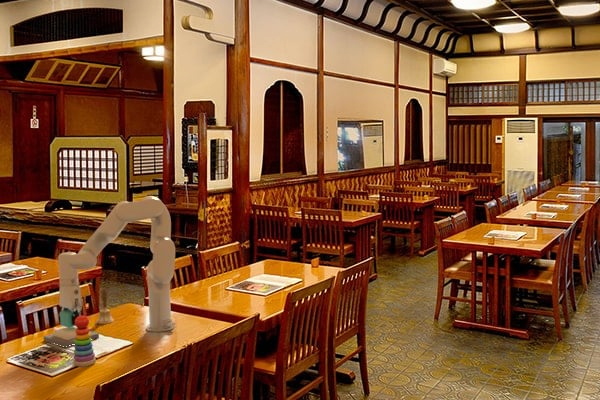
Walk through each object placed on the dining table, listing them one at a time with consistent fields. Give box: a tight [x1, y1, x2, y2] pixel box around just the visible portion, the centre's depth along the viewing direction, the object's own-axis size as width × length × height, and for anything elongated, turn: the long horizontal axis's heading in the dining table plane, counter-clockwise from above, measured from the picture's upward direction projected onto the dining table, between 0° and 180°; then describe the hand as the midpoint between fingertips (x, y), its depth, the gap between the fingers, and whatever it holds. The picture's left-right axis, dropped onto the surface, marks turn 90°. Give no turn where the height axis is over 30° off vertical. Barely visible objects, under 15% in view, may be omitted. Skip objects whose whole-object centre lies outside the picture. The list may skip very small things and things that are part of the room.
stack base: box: [43, 326, 100, 347], centre depth 262 cm, size 16×16×5 cm
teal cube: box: [59, 309, 82, 328], centre depth 261 cm, size 6×6×6 cm
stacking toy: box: [72, 314, 97, 368], centre depth 232 cm, size 8×8×19 cm
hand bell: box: [95, 287, 115, 325], centre depth 288 cm, size 8×8×16 cm
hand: (70, 322), depth 261 cm, fingers closed on teal cube, 6 cm apart
